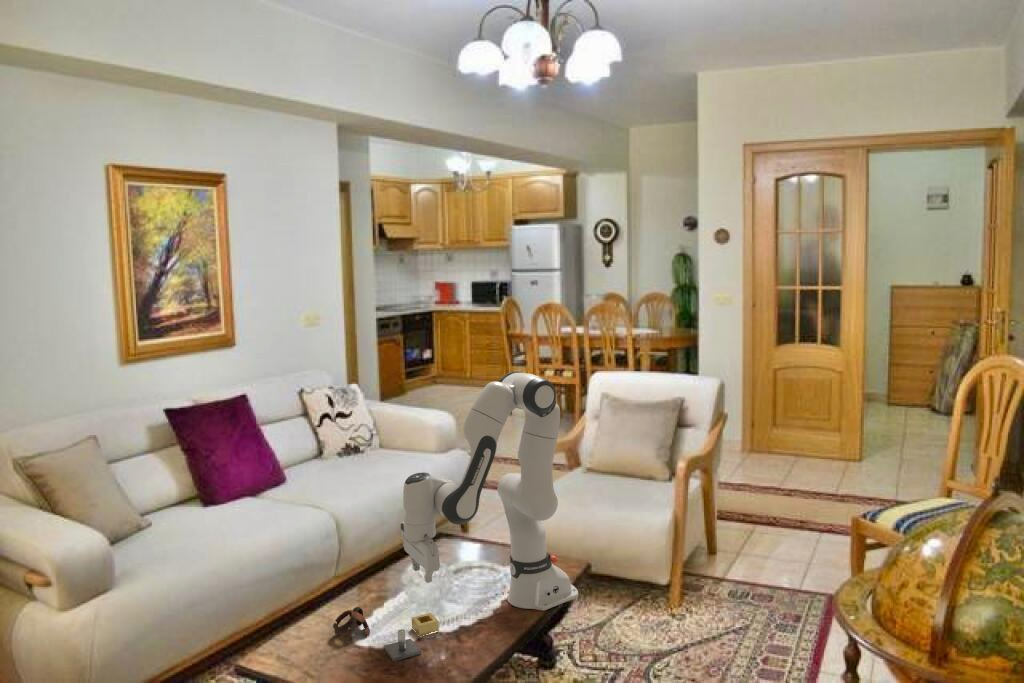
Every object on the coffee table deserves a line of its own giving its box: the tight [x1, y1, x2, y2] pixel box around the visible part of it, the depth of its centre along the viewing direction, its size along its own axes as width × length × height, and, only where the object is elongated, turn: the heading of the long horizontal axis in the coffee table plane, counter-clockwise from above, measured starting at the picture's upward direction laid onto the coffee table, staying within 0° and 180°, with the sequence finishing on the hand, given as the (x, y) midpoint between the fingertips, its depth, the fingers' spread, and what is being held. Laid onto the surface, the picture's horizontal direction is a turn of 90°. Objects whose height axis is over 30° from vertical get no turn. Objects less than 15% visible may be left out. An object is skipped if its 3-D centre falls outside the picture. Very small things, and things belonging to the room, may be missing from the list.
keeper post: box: [383, 628, 422, 663], centre depth 228 cm, size 8×8×6 cm
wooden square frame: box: [411, 612, 440, 638], centre depth 240 cm, size 6×6×4 cm
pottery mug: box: [332, 606, 371, 637], centre depth 240 cm, size 12×10×8 cm
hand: (422, 575), depth 238 cm, fingers open, 8 cm apart
